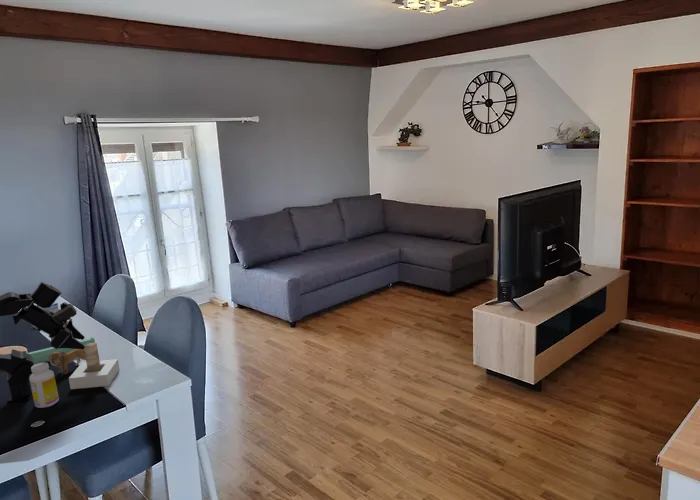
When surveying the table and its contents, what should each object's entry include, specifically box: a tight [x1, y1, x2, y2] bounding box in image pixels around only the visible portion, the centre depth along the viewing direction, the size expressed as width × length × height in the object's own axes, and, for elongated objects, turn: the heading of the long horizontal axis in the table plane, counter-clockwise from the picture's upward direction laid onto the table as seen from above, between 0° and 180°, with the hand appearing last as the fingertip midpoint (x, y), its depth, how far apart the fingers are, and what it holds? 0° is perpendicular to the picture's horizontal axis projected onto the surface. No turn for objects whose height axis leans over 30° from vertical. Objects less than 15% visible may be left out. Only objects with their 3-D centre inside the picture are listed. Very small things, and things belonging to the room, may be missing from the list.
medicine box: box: [36, 302, 60, 313], centre depth 231 cm, size 8×4×9 cm, turn 73°
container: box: [27, 335, 96, 365], centre depth 193 cm, size 6×6×25 cm
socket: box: [68, 358, 120, 390], centre depth 175 cm, size 12×12×4 cm
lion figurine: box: [49, 349, 86, 375], centre depth 183 cm, size 15×5×9 cm, turn 155°
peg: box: [84, 342, 101, 372], centre depth 174 cm, size 4×4×12 cm
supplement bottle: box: [29, 362, 60, 409], centre depth 159 cm, size 7×7×13 cm
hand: (84, 343), depth 171 cm, fingers open, 9 cm apart
